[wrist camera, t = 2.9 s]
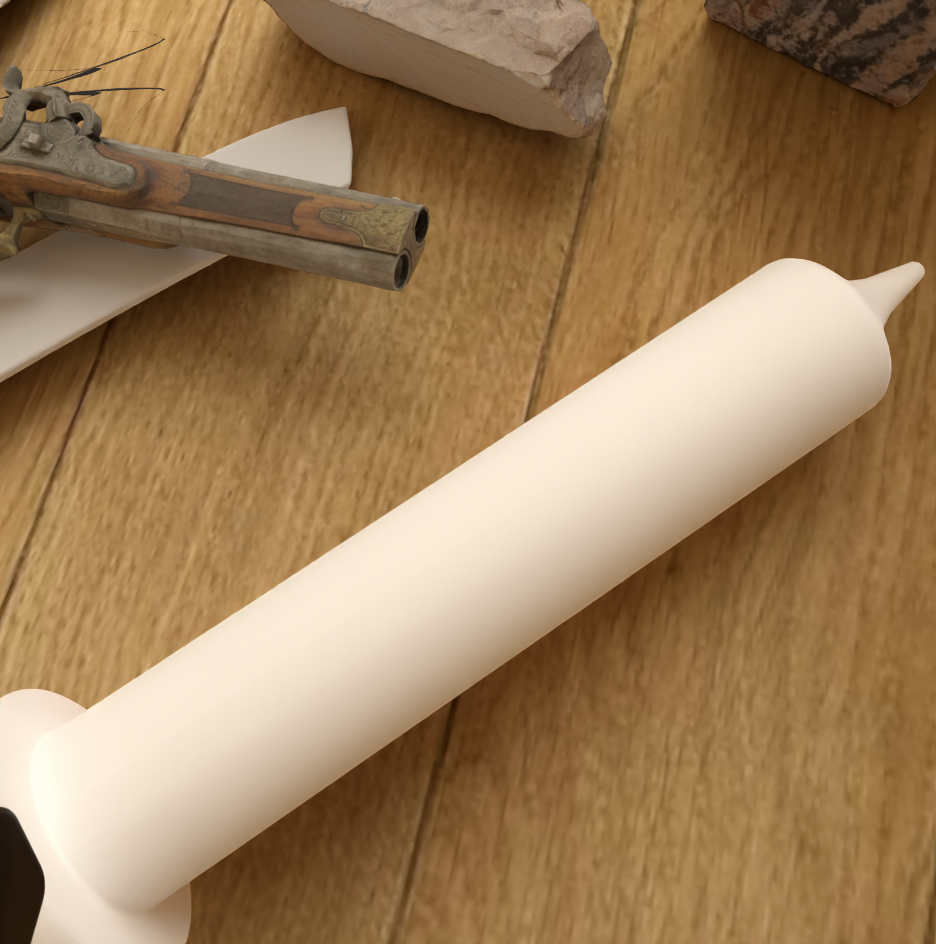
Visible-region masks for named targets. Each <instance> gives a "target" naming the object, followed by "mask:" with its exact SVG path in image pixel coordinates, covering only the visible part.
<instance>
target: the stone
mask: <svg viewBox="0 0 936 944" xmlns="http://www.w3.org/2000/svg"><path fill="white" fill-rule="evenodd" d="M264 1H265V2H266V3H267V4H269V5H270V6H271V7H272V8H273V10H274V11H275V12H276V14H277V15H278V16H279V17H280V18H281V19H282V20H283V21H284V22H285V23H286V24H287V26H288V27H289V28H290V30H291V31H292V32H293V33H294V34H295V35H296V36H297V37H299V38H300V39H301V40H302V41H303V42H304V43H306V44H307V45H309V46H311V47H312V48H314V49H315V50H317V51H318V52H320V53H321V54H322V55H324V56H325V57H327V58H328V59H330V60H332V61H333V62H335V63H337V64H340V65H342V66H344V67H346V68H348V69H351V70H353V71H356V72H359V73H363V74H367V75H370V76H374V77H378V78H384V79H387V80H389V81H392V82H394V83H397V84H399V85H402V86H404V87H407V88H409V89H415V90H417V91H419V92H421V93H424V94H426V95H428V96H431V97H434V98H436V99H439V100H441V101H444V102H447V103H449V104H452V105H455V106H457V107H461V108H464V109H468V110H471V111H475V112H478V113H488V114H491V115H493V116H495V117H497V118H499V119H502V120H504V121H506V122H508V123H511V124H514V125H518V126H521V127H524V128H527V129H532V130H541V131H550V132H554V133H557V134H560V135H563V136H566V137H570V138H587V137H588V136H590V135H592V134H593V132H594V130H595V129H598V128H599V127H600V125H601V123H602V122H603V121H604V119H605V118H606V117H607V111H606V107H605V104H604V101H603V87H604V84H605V80H606V77H607V75H608V74H609V70H610V67H611V64H612V62H611V60H610V55H609V53H608V50H607V46H606V44H605V43H604V42H603V40H602V38H601V36H600V31H599V22H598V21H597V20H596V19H595V18H594V16H593V14H592V11H591V8H590V7H589V6H588V5H587V4H586V3H585V2H581V1H579V0H264Z"/></svg>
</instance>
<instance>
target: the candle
mask: <svg viewBox="0 0 936 944" xmlns="http://www.w3.org/2000/svg"><path fill="white" fill-rule="evenodd" d="M924 274H925V270H924V267H923V266H922V265H921V264H920V263H918V262H910V263H907V264H904V265H901V266H899V267H896V268H893V269H891V270H888V271H885V272H882V273H880V274H877V275H874V276H872V277H869V278H866V279H860V280H851V281H848V280H846V279H844V278H842V277H841V276H839V275H838V274H836V273H835V272H833V271H832V270H830V269H828V268H826V267H824V266H822V265H820V264H818V263H815V262H812V261H809V260H804V259H795V258H785V259H780V260H777V261H774V262H772V263H769V264H768V265H766V266H764V267H763V268H761V269H760V270H758V271H757V272H755V273H754V274H752V275H751V276H749V277H748V278H746V279H744V280H743V281H741V282H740V283H738V284H737V285H735V286H734V287H732V288H731V289H729V290H728V291H726V292H725V293H723V294H722V295H720V296H718V297H717V298H715V299H714V300H712V301H711V302H709V303H708V304H706V305H705V306H703V307H702V308H700V309H699V310H697V311H696V312H694V313H693V314H691V315H689V316H688V317H686V318H685V319H683V320H682V321H680V322H679V323H677V324H676V325H674V326H673V327H671V328H670V329H668V330H667V331H665V332H664V333H662V334H660V335H659V336H657V337H656V338H654V339H653V340H651V341H650V342H648V343H647V344H645V345H644V346H642V347H641V348H639V349H638V350H636V351H634V352H633V353H631V354H630V355H628V356H627V357H625V358H624V359H622V360H621V361H619V362H618V363H616V364H615V365H613V366H612V367H610V368H609V369H607V370H605V371H604V372H602V373H601V374H599V375H598V376H596V377H595V378H593V379H592V380H590V381H589V382H587V383H586V384H584V385H583V386H581V387H580V388H578V389H576V390H575V391H573V392H572V393H570V394H569V395H567V396H566V397H564V398H563V399H561V400H560V401H558V402H557V403H555V404H554V405H552V406H551V407H549V408H547V409H546V410H544V411H543V412H541V413H540V414H538V415H537V416H535V417H534V418H532V419H531V420H529V421H528V422H526V423H525V424H523V425H521V426H520V427H518V428H517V429H515V430H514V431H512V432H511V433H509V434H508V435H506V436H505V437H503V438H502V439H500V440H499V441H497V442H496V443H494V444H492V445H491V446H489V447H488V448H486V449H485V450H483V451H482V452H480V453H479V454H477V455H476V456H474V457H473V458H471V459H470V460H468V461H467V462H465V463H463V464H462V465H460V466H459V467H457V468H456V469H454V470H453V471H451V472H450V473H448V474H447V475H445V476H444V477H442V478H441V479H439V480H438V481H436V482H434V483H433V484H431V485H430V486H428V487H427V488H425V489H424V490H422V491H421V492H419V493H418V494H416V495H415V496H413V497H412V498H410V499H408V500H407V501H405V502H404V503H402V504H401V505H399V506H398V507H396V508H395V509H393V510H392V511H390V512H389V513H387V514H386V515H384V516H383V517H381V518H379V519H378V520H376V521H375V522H373V523H372V524H370V525H369V526H367V527H366V528H364V529H363V530H361V531H360V532H358V533H357V534H355V535H354V536H352V537H350V538H349V539H347V540H346V541H344V542H343V543H341V544H340V545H338V546H337V547H335V548H334V549H332V550H331V551H329V552H328V553H326V554H324V555H323V556H321V557H320V558H318V559H317V560H315V561H314V562H312V563H311V564H309V565H308V566H306V567H305V568H303V569H302V570H300V571H299V572H297V573H295V574H294V575H292V576H291V577H289V578H288V579H286V580H285V581H283V582H282V583H280V584H279V585H277V586H276V587H274V588H273V589H271V590H270V591H268V592H266V593H265V594H263V595H262V596H260V597H259V598H257V599H256V600H254V601H253V602H251V603H250V604H248V605H247V606H245V607H244V608H242V609H241V610H239V611H237V612H236V613H234V614H233V615H231V616H230V617H228V618H227V619H225V620H224V621H222V622H221V623H219V624H218V625H216V626H215V627H213V628H211V629H210V630H208V631H207V632H205V633H204V634H202V635H201V636H199V637H198V638H196V639H195V640H193V641H192V642H190V643H189V644H187V645H186V646H184V647H182V648H181V649H179V650H178V651H176V652H175V653H173V654H172V655H170V656H169V657H167V658H166V659H164V660H163V661H161V662H160V663H158V664H157V665H155V666H153V667H152V668H150V669H149V670H147V671H146V672H144V673H143V674H141V675H140V676H138V677H137V678H135V679H134V680H132V681H131V682H129V683H127V684H126V685H124V686H123V687H121V688H120V689H118V690H117V691H115V692H114V693H112V694H111V695H109V696H108V697H106V698H105V699H103V700H102V701H100V702H98V703H97V704H95V705H94V706H92V707H91V708H89V709H88V710H86V709H85V708H83V707H82V706H80V705H78V704H77V703H75V702H74V701H72V700H70V699H68V698H66V697H64V696H61V695H59V694H56V693H54V692H50V691H46V690H40V689H23V690H17V691H15V692H12V693H9V694H7V695H5V696H3V697H2V698H0V807H5V808H8V809H10V810H11V811H12V812H13V813H15V815H16V817H17V818H18V820H19V822H20V824H21V826H22V828H23V830H24V832H25V834H26V836H27V838H28V840H29V842H30V844H31V846H32V848H33V850H34V852H35V854H36V856H37V858H38V860H39V862H40V864H41V866H42V869H43V873H44V877H45V893H44V899H43V903H42V907H41V910H40V914H39V917H38V921H37V924H36V928H35V931H34V935H33V938H32V942H31V944H186V942H187V938H188V934H189V930H190V923H191V892H190V883H189V882H190V881H192V880H193V879H194V878H196V877H197V876H199V875H200V874H202V873H203V872H205V871H206V870H207V869H209V868H210V867H212V866H213V865H215V864H216V863H218V862H219V861H220V860H222V859H223V858H225V857H226V856H228V855H229V854H230V853H232V852H233V851H235V850H236V849H238V848H239V847H241V846H242V845H243V844H245V843H246V842H248V841H249V840H251V839H252V838H254V837H255V836H256V835H258V834H259V833H261V832H262V831H264V830H265V829H267V828H268V827H269V826H271V825H272V824H274V823H275V822H277V821H278V820H279V819H281V818H282V817H284V816H285V815H287V814H288V813H290V812H291V811H292V810H294V809H295V808H297V807H298V806H300V805H301V804H303V803H304V802H305V801H307V800H308V799H310V798H311V797H313V796H314V795H316V794H317V793H318V792H320V791H321V790H323V789H324V788H326V787H327V786H328V785H330V784H331V783H333V782H334V781H336V780H337V779H339V778H340V777H341V776H343V775H344V774H346V773H347V772H349V771H350V770H352V769H353V768H354V767H356V766H357V765H359V764H360V763H362V762H363V761H365V760H366V759H367V758H369V757H370V756H372V755H373V754H375V753H376V752H377V751H379V750H380V749H382V748H383V747H385V746H386V745H388V744H389V743H390V742H392V741H393V740H395V739H396V738H398V737H399V736H401V735H402V734H403V733H405V732H406V731H408V730H409V729H411V728H412V727H414V726H415V725H416V724H418V723H419V722H421V721H422V720H424V719H425V718H426V717H428V716H429V715H431V714H432V713H434V712H435V711H437V710H438V709H439V708H441V707H442V706H444V705H445V704H447V703H448V702H450V701H451V700H452V699H454V698H455V697H457V696H458V695H460V694H461V693H463V692H464V691H465V690H467V689H468V688H470V687H471V686H473V685H474V684H475V683H477V682H478V681H480V680H481V679H483V678H484V677H486V676H487V675H488V674H490V673H491V672H493V671H494V670H496V669H497V668H499V667H500V666H501V665H503V664H504V663H506V662H507V661H509V660H510V659H512V658H513V657H514V656H516V655H517V654H519V653H520V652H522V651H523V650H525V649H526V648H527V647H529V646H530V645H532V644H533V643H535V642H536V641H537V640H539V639H540V638H542V637H543V636H545V635H546V634H548V633H549V632H550V631H552V630H553V629H555V628H556V627H558V626H559V625H561V624H562V623H563V622H565V621H566V620H568V619H569V618H571V617H572V616H574V615H575V614H576V613H578V612H579V611H581V610H582V609H584V608H585V607H586V606H588V605H589V604H591V603H592V602H594V601H595V600H597V599H598V598H599V597H601V596H602V595H604V594H605V593H607V592H608V591H610V590H611V589H612V588H614V587H615V586H617V585H618V584H620V583H621V582H623V581H624V580H625V579H627V578H628V577H630V576H631V575H633V574H634V573H635V572H637V571H638V570H640V569H641V568H643V567H644V566H646V565H647V564H648V563H650V562H651V561H653V560H654V559H656V558H657V557H659V556H660V555H661V554H663V553H664V552H666V551H667V550H669V549H670V548H672V547H673V546H674V545H676V544H677V543H679V542H680V541H682V540H683V539H684V538H686V537H687V536H689V535H690V534H692V533H693V532H695V531H696V530H697V529H699V528H700V527H702V526H703V525H705V524H706V523H708V522H709V521H710V520H712V519H713V518H715V517H716V516H718V515H719V514H721V513H722V512H723V511H725V510H726V509H728V508H729V507H731V506H732V505H733V504H735V503H736V502H738V501H739V500H741V499H742V498H744V497H745V496H746V495H748V494H749V493H751V492H752V491H754V490H755V489H757V488H758V487H759V486H761V485H762V484H764V483H765V482H767V481H768V480H770V479H771V478H772V477H774V476H775V475H777V474H778V473H780V472H781V471H782V470H784V469H785V468H787V467H788V466H790V465H791V464H793V463H794V462H795V461H797V460H798V459H800V458H801V457H803V456H804V455H806V454H807V453H808V452H810V451H811V450H813V449H814V448H816V447H817V446H819V445H820V444H821V443H823V442H824V441H826V440H827V439H829V438H830V437H831V436H833V435H834V434H836V433H837V432H839V431H840V430H842V429H843V428H844V427H846V426H847V425H849V424H850V423H852V422H853V421H855V420H856V419H857V418H859V417H860V416H862V415H863V414H865V413H866V412H867V411H869V410H870V409H872V408H873V407H874V406H876V405H877V403H878V402H879V401H880V400H881V399H882V398H883V396H884V395H885V393H886V391H887V388H888V385H889V381H890V377H891V357H890V351H889V346H888V343H887V339H886V336H885V333H884V326H885V324H886V322H887V320H888V318H889V316H890V314H891V313H892V311H893V310H894V309H895V308H896V307H897V306H898V305H899V304H900V303H901V301H902V300H903V299H904V298H905V297H906V296H907V295H908V294H909V292H910V291H911V290H912V289H913V288H914V287H915V286H916V285H917V283H918V282H919V281H920V280H921V279H922V278H923V276H924Z"/></svg>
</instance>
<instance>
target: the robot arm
mask: <svg viewBox="0 0 936 944" xmlns="http://www.w3.org/2000/svg"><path fill="white" fill-rule="evenodd" d="M44 893H45V877H44V873H43V869H42V866H41V864H40V862H39V860H38V858H37V856H36V854H35V852H34V850H33V848H32V846H31V844H30V842H29V840H28V838H27V836H26V834H25V832H24V830H23V828H22V826H21V824H20V822H19V820H18V818H17V817H16V815H15V813H13V812H12V811H11V810H10V809H8V808H5V807H0V944H31V942H32V938H33V935H34V931H35V928H36V924H37V921H38V917H39V914H40V910H41V907H42V903H43V899H44Z"/></svg>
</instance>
